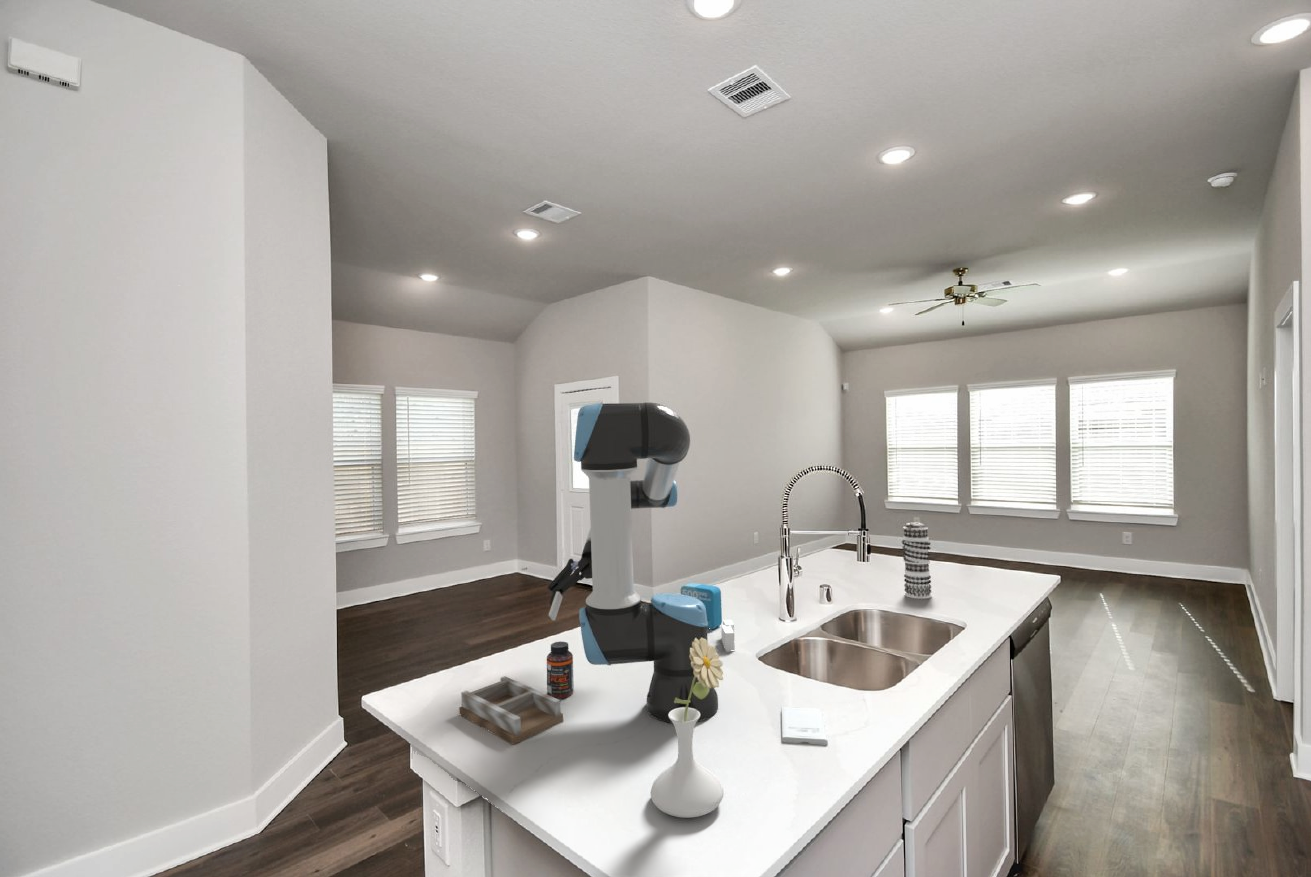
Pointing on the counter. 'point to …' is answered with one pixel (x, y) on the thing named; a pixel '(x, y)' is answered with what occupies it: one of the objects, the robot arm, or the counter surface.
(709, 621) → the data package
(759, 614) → the counter surface
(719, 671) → the flower in vase
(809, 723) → the external hard drive
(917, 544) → the decorative candle
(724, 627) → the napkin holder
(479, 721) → the wooden divided tray
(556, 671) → the supplement bottle
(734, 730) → the counter surface
